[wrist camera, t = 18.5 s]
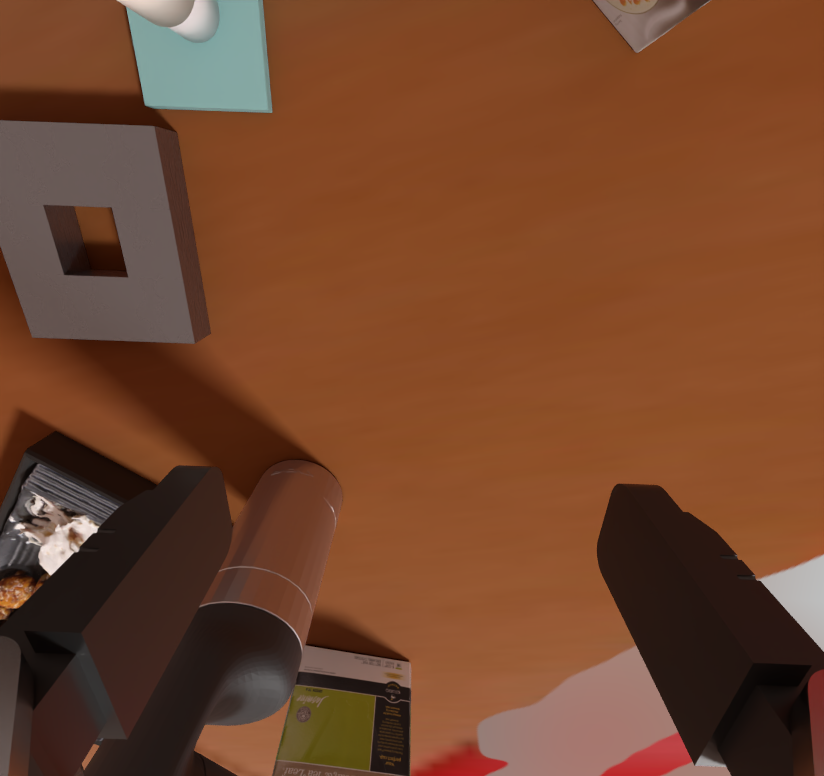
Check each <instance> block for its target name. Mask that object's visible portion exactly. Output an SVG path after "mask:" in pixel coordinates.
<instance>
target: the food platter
mask: <svg viewBox="0 0 824 776" xmlns="http://www.w3.org/2000/svg"><path fill="white" fill-rule="evenodd" d="M156 486H157V485H156V484H154V483H152V482H150V481H148V480H147V479H145V478H143V477H141V476H139V475H137V474H135V473H133V472H132V471H130V470H128V469H126V468H124V467H122V466H120V465H119V464H117V463H115V462H113V461H111V460H109V459H107V458H105V457H104V456H102V455H100V454H98V453H96V452H94V451H92V450H91V449H89V448H87V447H85V446H83V445H81V444H79V443H78V442H76V441H74V440H72V439H70V438H68V437H66V436H64V435H63V434H61V433H59V432H57V431H55V432H53V433H52V434H50V435H49V436H47V437H45V438H44V439H42V440H41V441H39V442H37V443H36V444H34V445H33V446H31V447H30V448H28V449H27V450H26V451H25V453H24V455H23V458H22V460H21V462H20V464H19V467H18V469H17V471H16V474H15V476H14V478H13V480H12V483H11V485H10V487H9V490H8V492H7V494H6V496H5V499H4V501H3V503H2V506H1V508H0V627H1V626H2V625H3V624H4V623H5V622H6V621H7V620H8V619H9V618H10V617H11V616H12V615H13V614H14V613H15V612H16V611H17V610H18V609H19V608H20V607H21V606H22V605H23V604H24V603H25V602H26V601H27V600H28V599H29V598H30V597H31V596H32V595H33V594H34V593H35V592H36V591H37V590H38V588H39V587H40V586H41V585H42V584H43V583H44V582H45V581H46V580H47V579H48V578H49V577H50V576H51V575H52V574H53V573H54V572H55V571H56V570H57V569H58V568H59V567H60V566H61V565H62V564H63V563H64V562H65V561H66V560H67V559H68V558H69V557H70V556H71V555H72V554H73V553H74V552H78V551H79V547H80V546H81V545H82V544H83V543H84V542H85V541H86V540H87V539H88V538H89V537H90V536H91V535H92V534H93V533H97V530H98V528H99V527H100V526H101V524H102V523H103V522H104V521H105V520H106V519H107V518H108V517H109V516H110V515H111V514H112V513H113V512H114V511H115V510H116V509H117V508H118V507H120V506H121V505H123V504H125V503H126V502H128V501H129V500H131V499H133V498H134V497H136V496H137V495H139V494H141V493H142V492H144V491H146V490H154V489H155V488H156ZM80 523H81V524H80ZM232 527H233V526H232ZM39 579H40V580H39ZM103 740H104V738H97V739H96V741H95V742H94V744H96V745H99V746H100V745H101V743H102V742H103Z"/></svg>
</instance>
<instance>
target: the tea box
mask: <svg viewBox="0 0 824 776" xmlns="http://www.w3.org/2000/svg"><path fill="white" fill-rule="evenodd" d="M410 741H411V663H410V662H405V661H399V660H393V659H386V658H380V657H374V656H368V655H361V654H355V653H349V652H343V651H337V650H331V649H324V648H318V647H312V646H307V645H305V648H304V652H303V656H302V659H301V663H300V667H299V671H298V675H297V679H296V682H295V685H294V688H293V691H292V695H291V699H290V703H289V707H288V711H287V715H286V720H285V724H284V728H283V732H282V736H281V740H280V744H279V748H278V753H277V757H276V761H275V765H274V770H273V774H272V776H410Z"/></svg>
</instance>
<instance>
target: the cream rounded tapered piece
mask: <svg viewBox="0 0 824 776" xmlns="http://www.w3.org/2000/svg"><path fill="white" fill-rule="evenodd" d="M117 1H119V2H120V3H122V4H123V5H125V6H126V7H128V8H129V9H131V10H132V11H134V12H136V13H137V14H139V15H140V16H142V17H143V18H145V19H146V20H148V21H149V22H151V23H153V24H155V25H157V26H161V27H168V28H169V29H171V30H172V31H174V32H175V33H177V34H178V35H180V36H181V37H183V38H184V39H186V40H188V41H190V42H193V43H203V42H206V41H208V40H210V39H211V38H212V37H213V36H214V34H215V33H216V31H217V29H218V25H219V20H220V12H219V6H218V2H217V0H117Z"/></svg>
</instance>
